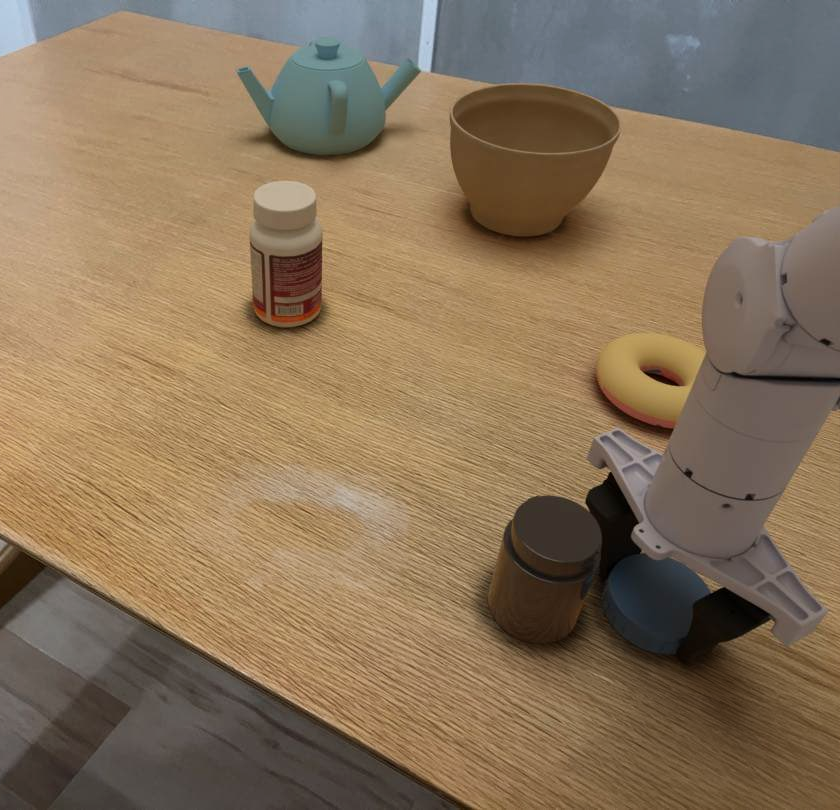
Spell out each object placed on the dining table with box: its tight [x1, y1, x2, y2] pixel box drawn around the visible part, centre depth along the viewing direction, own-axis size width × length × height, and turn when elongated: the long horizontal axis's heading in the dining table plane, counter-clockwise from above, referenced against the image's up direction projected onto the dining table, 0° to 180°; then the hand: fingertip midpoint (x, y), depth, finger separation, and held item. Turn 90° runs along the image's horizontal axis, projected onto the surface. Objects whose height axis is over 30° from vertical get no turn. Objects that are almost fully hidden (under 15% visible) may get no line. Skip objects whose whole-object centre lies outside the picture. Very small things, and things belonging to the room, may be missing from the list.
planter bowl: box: [449, 82, 622, 238], centre depth 83 cm, size 16×16×11 cm
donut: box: [595, 332, 706, 430], centre depth 64 cm, size 10×5×9 cm
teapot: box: [235, 36, 422, 156], centre depth 98 cm, size 15×17×11 cm
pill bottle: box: [248, 180, 324, 328], centre depth 70 cm, size 6×6×11 cm
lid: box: [600, 552, 712, 656], centre depth 50 cm, size 6×6×2 cm
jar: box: [487, 494, 602, 645], centre depth 48 cm, size 5×5×8 cm
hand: (651, 612), depth 51 cm, fingers closed on lid, 6 cm apart
